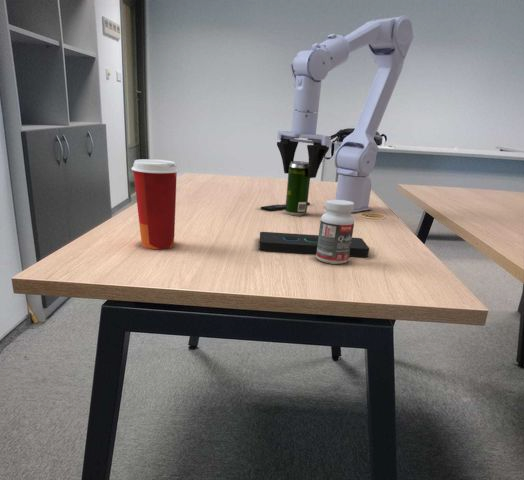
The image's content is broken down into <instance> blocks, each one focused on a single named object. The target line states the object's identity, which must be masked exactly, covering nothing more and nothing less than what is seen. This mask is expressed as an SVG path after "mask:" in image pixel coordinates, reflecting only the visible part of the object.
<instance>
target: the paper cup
mask: <svg viewBox="0 0 524 480" xmlns="http://www.w3.org/2000/svg"><path fill="white" fill-rule="evenodd" d="M131 171H133V180H134V190H135V197H136V198H135V199H136V206H137V215H138V224H139V232H140V240H141V246H142V247H143V248H145V249H150V250H166V249H167V250H168V249H171V248H173V247H174V245H175V230H176V229H175V228H176V204H177V202H176V200H177V173H179V169H178V168H177V163H176V161H172V160H167V159H153V158H150V159H149V158H147V159H146V158H145V159H144V158H143V159H141V158H140V159H134V162H133V164H132V167H131Z"/></svg>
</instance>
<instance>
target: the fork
mask: <svg viewBox="0 0 524 480" xmlns="http://www.w3.org/2000/svg"><path fill="white" fill-rule="evenodd" d="M307 206H310V202H308V203H307ZM285 207H286V203H283V204H279V203H277V204H272V205H271V204H270V205H264V206H260V210H264V211H267V212H273V211H280V210H285Z"/></svg>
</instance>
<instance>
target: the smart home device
mask: <svg viewBox="0 0 524 480" xmlns="http://www.w3.org/2000/svg"><path fill="white" fill-rule="evenodd" d="M318 238H319V234H303V233H289V232H275V231H274V232H273V231H259V245H258V246H259V247H258V248H259V249H258V250H259V251H262V252H263V251H264V252H275V253H276V252H278V253H292V254H309V255H316V253H317V246H318ZM369 252H370V247H369V246H368V244H367V243H366V241H365V240H364V239H363V238H361V237H353V236H352V240H351V247H350V254H349V257H357V258H368V257H369Z"/></svg>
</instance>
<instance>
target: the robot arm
mask: <svg viewBox="0 0 524 480" xmlns="http://www.w3.org/2000/svg"><path fill="white" fill-rule="evenodd" d="M413 40H414V30H413V25H412V20H411V19H410V17H408V16H407V15H400V16H397V17H396V16H395V17H388V18H373V19H372V20H370V21H366V22H365V23H364V24H363V25H361V26H359V27H357V28H356V29H355V30H353V31H352V32H350V33H348V34H347V35H345V36H343V35H342V34H336V33H330V34H329V35H327V39H326V40H323V41H322V42H321V43H318V42H316V43H314V44H312V45H311V48H310V50H300V51H298V52H297V54H295V56H294V59H293V61H292V63H291V64H290V72H291V75H292V77H293V86H294V96H293V108H292V120H291V131H287V130H277V140H278V141H277V142H276V146H277V148H278V151H279V153H280V157H281V161H282V168H283V173H284V174H287V175H288V171H289V165H290V161H295V160H294V159H295V155H296V151H297V148H298V145H299V143H303V144H304V143H305V144H307V145H306V149H307V154H308V155H307V156H308V162H309V166H308V178H310V179H316V177H317V174H318V172H319V169H320V166H321V164H322V162H323V160H324V158H325V156H326V154H327V153H328V152H329V150H330V147H329V146H331V140H332V136H331V135H324V134H317V129H318V128H317V126H318V118H319V108H320V100H321V99H320V98H321V88H322V80H325V79H326V77H327V76H328V74H329V72H331V71H332V70H334V69H336V68H338V67H339V66H341V65H343V64H344V63H346V62H347V61H348V59H349V57H350V54H351V53H353V52H355V51H357V50H359V49H361V48H363V47H365V46H367V48H368V50H369V52H370V55H371V57H372V59H373V62H374V63H375V64H376V65H377V67H378V68H377V71H376V74H375V76H374V79H373V80H372V84H371V86H370V89H369V91H368V95H367V96H366V99H365V102H364V105H363V107H362V110H361V112H360V115H359V117H358V120H357V122H356V125H355V127H354V130H353V131H352V132H351V133H350V134H348V135H346V137H344V138H343V140H342V142H341V144H340V145H339V147H338V148H337V149H336V150H335V153H334V156H333V157H334V158H333V163H334V167H335V168H336V173H338V176H337V183H336V192H335V199H334V200H346V201H351V202H353V203H354V210H353V211H352V212H351V214H353V213H358V212H363V211H364V212H365V211H369V210H371V209H372V208H371V207H369V206H370V205H369V204H370V198H371V192H372V180H371V177H369V175H370V173H372V171H373V170H374V168H375V165H376V161H377V154H378V153H379V146H378V144H377V143H376V141H375V136H376V135H377V132H378V129H379V127H380V125H381V123H382V120H383V117H384V115H385V113H386V110H387V107H388V105H389V102H390V100H391V97H392V96H393V92H394V90H395V88H396V85H397V82H398V80H399V78H400V76H401V73H402V71H403V68H404V62H405V59H406V57H407V54H408V52H409V49H410V47H411V44H412V42H413Z"/></svg>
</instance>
